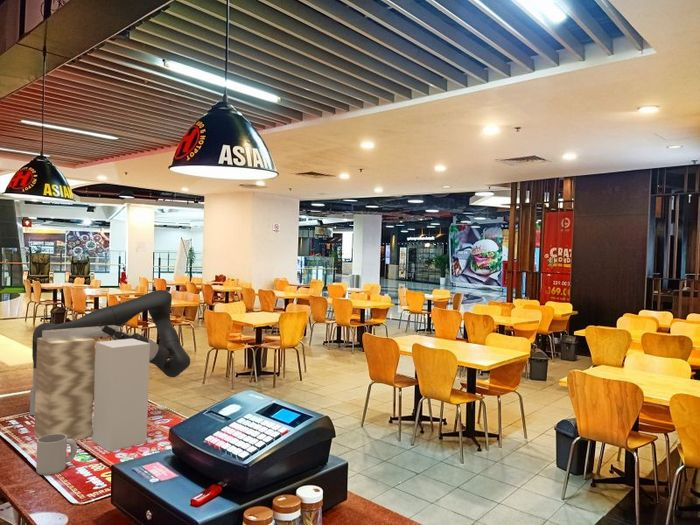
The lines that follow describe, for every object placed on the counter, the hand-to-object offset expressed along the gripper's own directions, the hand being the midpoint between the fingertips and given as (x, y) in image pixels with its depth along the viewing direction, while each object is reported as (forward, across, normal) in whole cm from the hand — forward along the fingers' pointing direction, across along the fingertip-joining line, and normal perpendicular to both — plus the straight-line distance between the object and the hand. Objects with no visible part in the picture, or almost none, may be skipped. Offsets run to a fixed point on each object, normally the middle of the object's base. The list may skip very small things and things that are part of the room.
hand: (101, 327), depth 178 cm
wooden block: (+4, 0, +6) cm, 7 cm away
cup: (+1, +26, +41) cm, 49 cm away
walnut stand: (-8, 0, +36) cm, 37 cm away
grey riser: (-17, +17, +30) cm, 39 cm away
